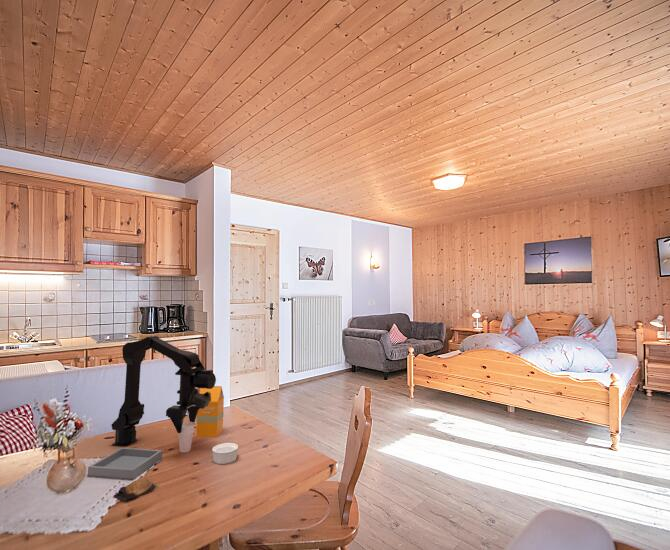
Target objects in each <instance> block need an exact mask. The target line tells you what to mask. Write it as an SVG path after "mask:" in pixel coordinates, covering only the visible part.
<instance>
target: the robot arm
mask: <svg viewBox="0 0 670 550" xmlns="http://www.w3.org/2000/svg"><path fill="white" fill-rule="evenodd" d="M151 349H152V350H154V351H155V352H157V353H160V354H161V355H162V356H165V357H166V358H168V359H170V360H172V361H173V363H174V365H175V366H176V367H178V368H179V369H178V370H176V371H175V373H174V374H175V375H176V376H179V389H178V390H177V391H176V394H178V395H179V398H178V401H176V405H175V404H174V405H172V406H170V407H168V408H167V409H166V410H165V417H167V418H168V419H170V420H171V423H172V424H173V426H174V428H175V430H176V432H177V434H178V433H181V431H182V425H183V422H184V419H185V418H187V413H189V422H194V423H195V421H196V420H197V413H198V410H199V409H200V408H201V409H204V408H205V407H207V406H208V404H209V402H210V401H211V393H210V392H206V393H204V394H203V393H202V394H200V392H199V389H201V388H206V389H212V388H213V387H214V386H215V385H216V382H217V378H216V375H215V373H214V370H213V369H206V368H205V367H204V365H203V363H202V362H201V359H200V355H199V354H197V353H195V352H193V351H189V350H184V349H180V348H179V347H176V346H175V345H172V344H171V343H169V342H167V341H165V340H164V339H161V338H160V337H159V336H156V335H152V336H146V337H145V338H142V339H139V340H136V341H130V342H126V343H125V344H124V345H123V346H122V349H121V351H122V360H123V361H124V362H125V364H126V368H125V369H126V370H125V372H126V373H125V387H124V401H123V403H122V404H121V407H120V409H119V411H118V416H117V418H116V419H115V420H114V421H113V422H112V423H111V430H113V431H115V437H114V440H115V441H114V442H113V443H112V444H111V446H116V447H117V446H118V447H129V446H130V445H132V444H133V443H135V442H137V441H138V438H137V430H136V425H139V424H140V421H141V419H143V415H145V410H144V409H145V404H144V403H141V401H140V399H139V398H140V385H141V384H140V381H141V366H142V363H143V361H144V359H145V358H146V354H147V351H149V350H151Z"/></svg>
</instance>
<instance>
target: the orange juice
mask: <svg viewBox="0 0 670 550" xmlns="http://www.w3.org/2000/svg"><path fill="white" fill-rule="evenodd" d="M206 392H210V393H211V401H210V402H209V404H208V406H207V407H205V408H204V409H201V408H200V409H199V410H198V413H197V416H196V430H195V432H196V434H195V435H196V436H195V437H196V438H218V437H219V435H221V433H222V432H223V430H224V429H223V428H224V426H223V425H224V404H225V402H224V401H225V396H224V392H223V387H222V386H221V385H220V386H219V385H216V386H215V385H214V387H213V388H212V389H206V388H200V390H199V393H200V394H202V393H203V394H204V393H206Z"/></svg>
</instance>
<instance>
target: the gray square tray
mask: <svg viewBox="0 0 670 550" xmlns="http://www.w3.org/2000/svg"><path fill="white" fill-rule="evenodd" d="M162 459H163V450H161V449H147V448H133V447H131V448H130V447H121V448H119V449H117V450H115V451H114V452H112V453H110V454H109V455H107V456H105V457H103V458H101V459H100V460H98V461H95V462H94V463H93V464H91V465H88V466H87V477H90V478H101V479H110V480H111V479H114V480H124V481H125V480H128V481H133V480H135V479H136V478H138V477H140V476H141V475H142V474H143V473H145V472H146V471H147V470H149V469H150V468H152V467H153V466H154V465H156V464H157V463H159V462H160V461H161V460H162Z"/></svg>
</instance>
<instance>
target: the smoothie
mask: <svg viewBox="0 0 670 550" xmlns="http://www.w3.org/2000/svg"><path fill="white" fill-rule="evenodd" d="M186 415H187V416H186V421H183V425H182V431H181V433H178V432H177V435H178V444H179V445H178V446H179V452H180V453H185V454H186V453H189V452H190V451H191V450H192V442H193V436H194V429H195V427H196V423H195V422H190V420H189V413H188V412H187V413H186Z"/></svg>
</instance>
